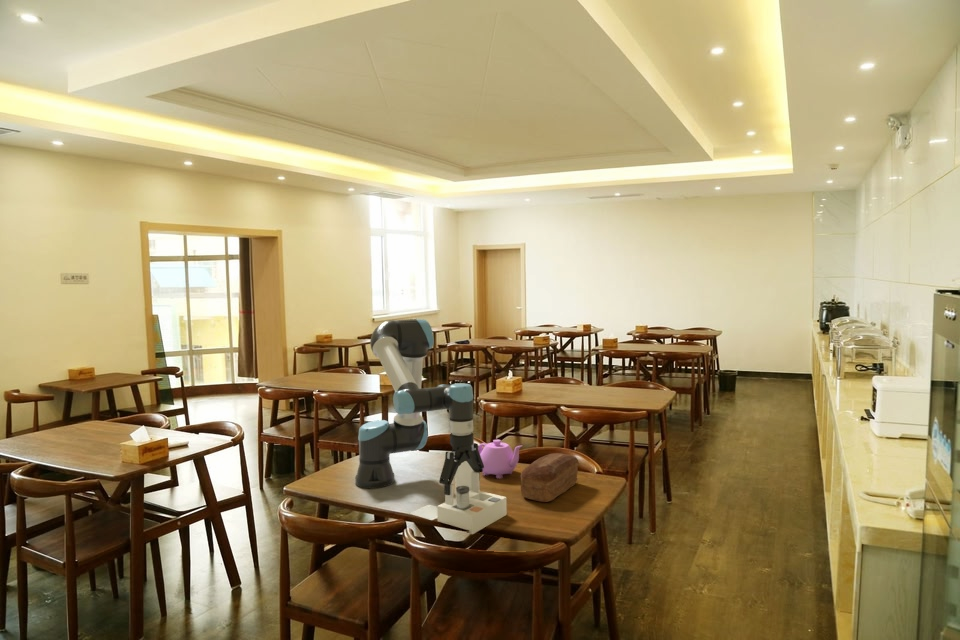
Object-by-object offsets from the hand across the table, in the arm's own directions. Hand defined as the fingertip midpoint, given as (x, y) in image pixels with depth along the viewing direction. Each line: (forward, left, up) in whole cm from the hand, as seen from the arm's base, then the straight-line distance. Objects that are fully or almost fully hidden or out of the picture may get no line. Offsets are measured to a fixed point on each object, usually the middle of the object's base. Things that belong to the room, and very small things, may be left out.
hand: (462, 497), depth 195 cm
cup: (-14, +20, -9) cm, 26 cm away
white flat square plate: (-14, 0, -9) cm, 16 cm away
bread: (+8, +43, -9) cm, 44 cm away
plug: (0, 0, -9) cm, 9 cm away
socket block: (0, +5, -9) cm, 10 cm away
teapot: (-19, +48, -9) cm, 52 cm away
